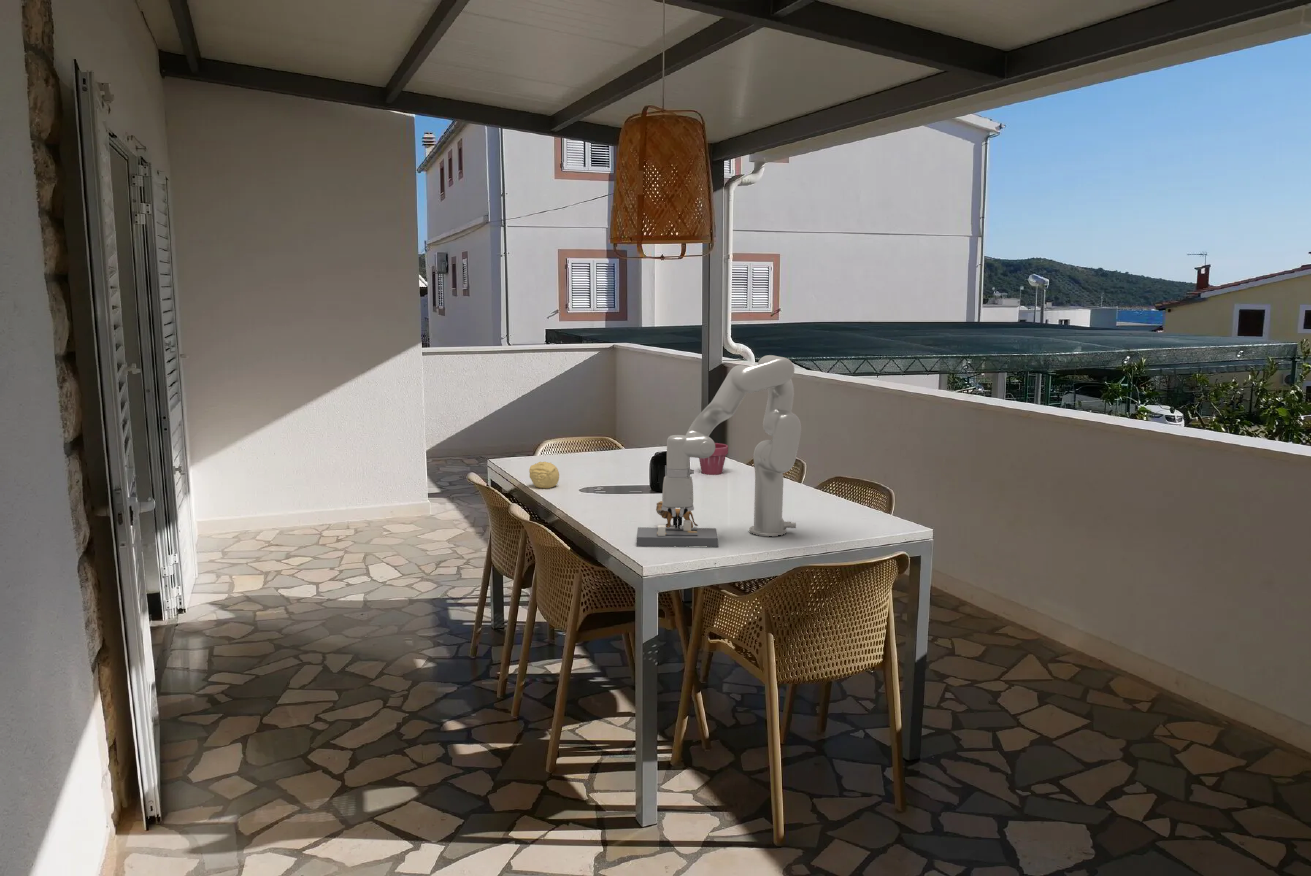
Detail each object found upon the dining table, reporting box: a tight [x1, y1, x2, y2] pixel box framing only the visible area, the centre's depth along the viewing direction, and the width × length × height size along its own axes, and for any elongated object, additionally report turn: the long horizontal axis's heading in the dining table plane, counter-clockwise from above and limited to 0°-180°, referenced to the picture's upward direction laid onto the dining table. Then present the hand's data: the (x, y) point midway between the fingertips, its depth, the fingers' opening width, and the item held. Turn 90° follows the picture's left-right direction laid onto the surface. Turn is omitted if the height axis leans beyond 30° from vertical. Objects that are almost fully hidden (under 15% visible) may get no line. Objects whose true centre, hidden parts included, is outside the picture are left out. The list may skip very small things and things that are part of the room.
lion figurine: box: [655, 500, 699, 528], centre depth 329 cm, size 15×5×9 cm, turn 88°
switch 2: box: [682, 519, 692, 531], centre depth 312 cm, size 2×3×4 cm
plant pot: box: [698, 442, 729, 476], centre depth 428 cm, size 14×14×13 cm
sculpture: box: [528, 461, 560, 489], centre depth 394 cm, size 12×12×11 cm
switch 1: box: [657, 524, 667, 536], centre depth 306 cm, size 2×3×4 cm
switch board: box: [636, 526, 719, 548], centre depth 309 cm, size 26×13×3 cm, turn 89°
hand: (677, 527), depth 313 cm, fingers closed
